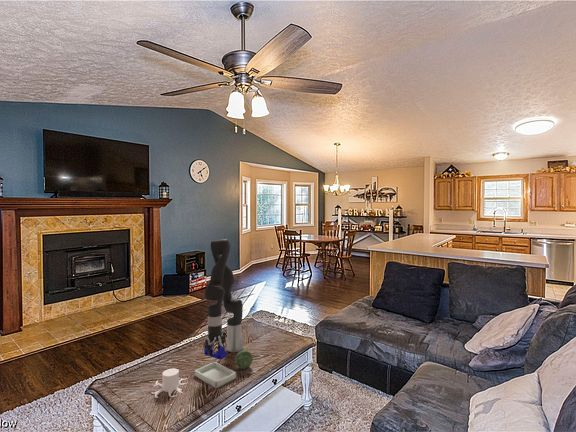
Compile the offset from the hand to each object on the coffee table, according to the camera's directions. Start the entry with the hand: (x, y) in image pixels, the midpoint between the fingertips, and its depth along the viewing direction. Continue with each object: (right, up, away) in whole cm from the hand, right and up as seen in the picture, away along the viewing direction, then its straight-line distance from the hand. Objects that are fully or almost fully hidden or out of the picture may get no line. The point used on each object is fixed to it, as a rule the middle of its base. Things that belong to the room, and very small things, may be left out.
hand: (215, 353), depth 173 cm
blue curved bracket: (0, -1, 0) cm, 1 cm away
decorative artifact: (+15, -13, +8) cm, 22 cm away
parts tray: (0, -13, 0) cm, 13 cm away
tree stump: (-21, -14, -9) cm, 27 cm away
